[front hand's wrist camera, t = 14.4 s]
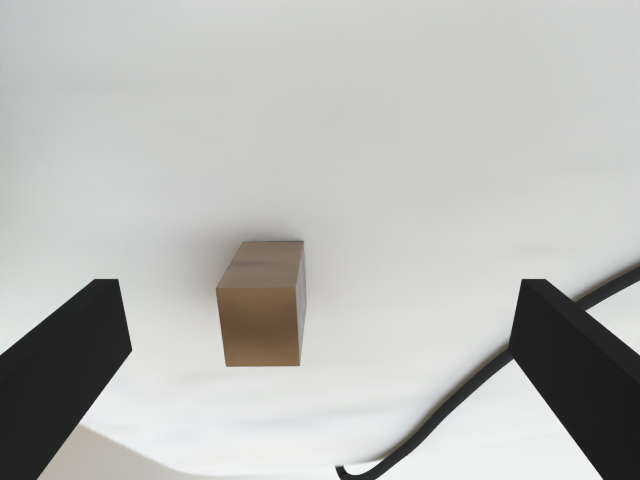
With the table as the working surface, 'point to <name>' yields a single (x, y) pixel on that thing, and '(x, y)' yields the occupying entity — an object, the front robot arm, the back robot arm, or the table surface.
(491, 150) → the table surface
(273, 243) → the block
